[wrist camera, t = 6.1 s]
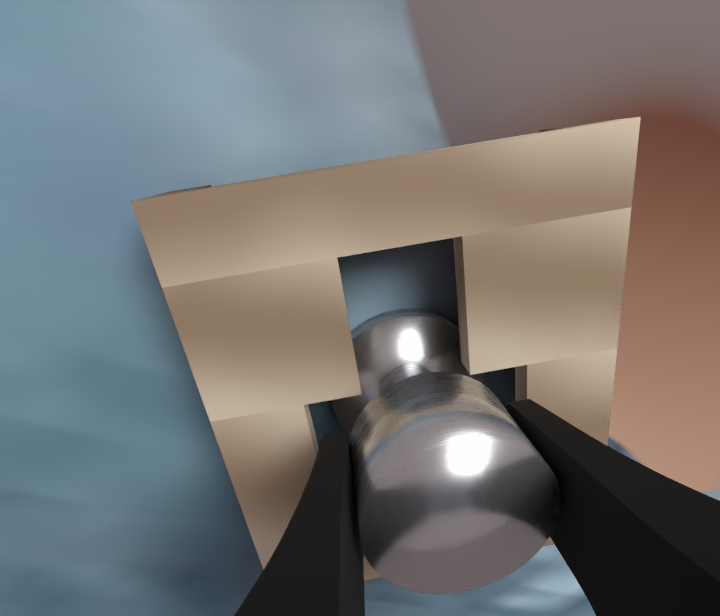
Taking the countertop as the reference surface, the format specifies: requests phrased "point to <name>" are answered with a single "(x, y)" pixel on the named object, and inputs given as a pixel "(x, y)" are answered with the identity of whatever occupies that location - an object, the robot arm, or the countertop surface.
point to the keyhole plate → (385, 231)
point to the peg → (439, 462)
